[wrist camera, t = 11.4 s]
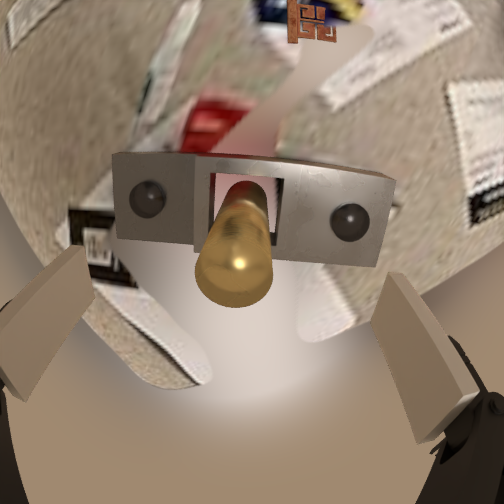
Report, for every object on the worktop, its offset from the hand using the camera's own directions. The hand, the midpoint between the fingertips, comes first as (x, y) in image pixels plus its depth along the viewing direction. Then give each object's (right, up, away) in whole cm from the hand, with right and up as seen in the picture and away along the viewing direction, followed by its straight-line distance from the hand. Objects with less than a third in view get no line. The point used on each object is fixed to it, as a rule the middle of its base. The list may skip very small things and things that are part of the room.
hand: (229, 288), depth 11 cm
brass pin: (0, +6, +13) cm, 15 cm away
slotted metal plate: (0, +6, +13) cm, 15 cm away
